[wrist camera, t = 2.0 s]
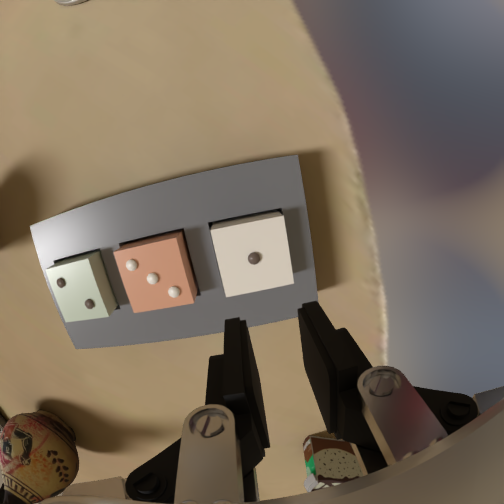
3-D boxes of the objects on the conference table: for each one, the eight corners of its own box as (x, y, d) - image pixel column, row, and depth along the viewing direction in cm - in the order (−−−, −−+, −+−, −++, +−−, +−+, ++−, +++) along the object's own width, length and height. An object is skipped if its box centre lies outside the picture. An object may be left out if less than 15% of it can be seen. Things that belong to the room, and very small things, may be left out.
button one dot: (213, 222, 23) (210, 230, 20) (276, 209, 23) (284, 216, 20) (226, 281, 25) (226, 298, 21) (286, 269, 25) (294, 284, 21)
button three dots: (127, 241, 23) (112, 252, 19) (183, 228, 23) (175, 238, 20) (144, 296, 24) (133, 314, 21) (198, 286, 25) (193, 304, 21)
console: (50, 219, 24) (29, 226, 20) (287, 157, 24) (297, 154, 21) (89, 331, 28) (76, 349, 24) (308, 294, 28) (319, 311, 25)
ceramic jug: (56, 397, 31) (-10, 531, 2) (102, 451, 35) (70, 571, 7) (7, 392, 31) (-53, 488, 2) (48, 442, 35) (10, 536, 7)
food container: (280, 452, 37) (289, 499, 27) (301, 433, 35) (315, 484, 26) (334, 458, 39) (347, 498, 29) (355, 440, 38) (373, 481, 28)
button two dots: (63, 258, 23) (44, 270, 19) (104, 247, 23) (86, 259, 19) (80, 307, 24) (64, 323, 21) (121, 300, 24) (108, 317, 21)
